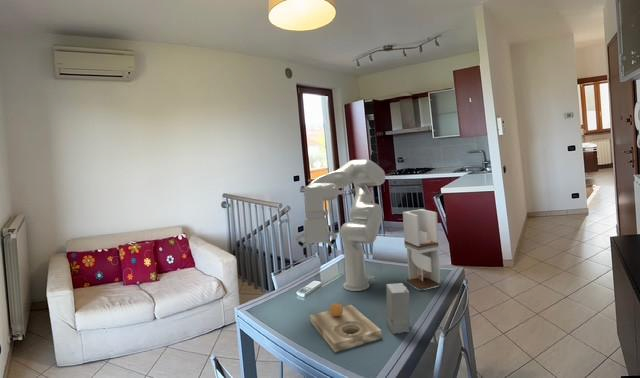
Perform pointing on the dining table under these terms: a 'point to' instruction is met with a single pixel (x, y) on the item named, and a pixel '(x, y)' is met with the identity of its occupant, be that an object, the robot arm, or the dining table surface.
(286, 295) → the dining table surface
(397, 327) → the skincare box
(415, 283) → the display case
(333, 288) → the dining table surface
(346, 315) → the block
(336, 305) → the ball
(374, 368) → the dining table surface
